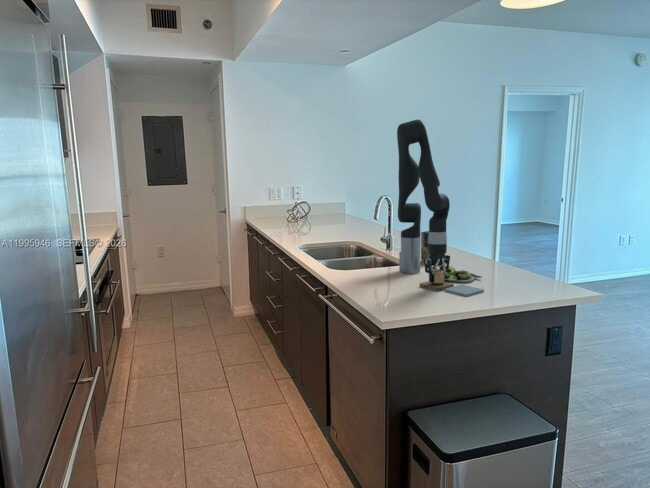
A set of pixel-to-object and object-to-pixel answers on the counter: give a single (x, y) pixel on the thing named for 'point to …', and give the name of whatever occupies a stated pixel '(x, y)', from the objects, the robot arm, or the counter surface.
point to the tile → (464, 290)
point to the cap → (438, 276)
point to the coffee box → (424, 246)
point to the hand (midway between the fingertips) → (436, 280)
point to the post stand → (436, 286)
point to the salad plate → (459, 276)
